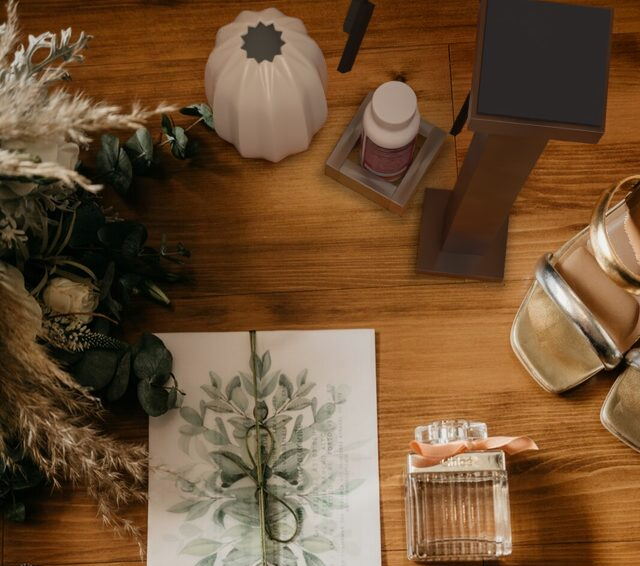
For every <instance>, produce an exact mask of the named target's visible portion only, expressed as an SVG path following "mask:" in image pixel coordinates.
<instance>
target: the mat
mask: <svg viewBox="0 0 640 566" xmlns="http://www.w3.org/2000/svg"><path fill="white" fill-rule="evenodd" d="M610 12H611V9H603V8H594V7H584V6H575V5H565V4H556V3H546V2H537V1H527V0H488V1H487V12H486V22H485V33H484V43H483V53H482V64H481V74H480V84H479V95H478V105H477V114H480V115H489V116H499V117H508V118H517V119H527V120H536V121H546V122H555V123H564V124H574V125H583V126H593V127H600V126H601V124H602V112H603V99H604V87H605V74H606V62H607V49H608V37H609V24H610Z"/></svg>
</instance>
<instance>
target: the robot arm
mask: <svg viewBox="0 0 640 566" xmlns="http://www.w3.org/2000/svg"><path fill="white" fill-rule="evenodd" d="M478 2H479V4H480V2H481V0H478ZM375 8H376V4H375V3H373V2H371V1H369V0H351V1H350V4H349V7H348V9H347V13H346V16H345V19H344V21H343V24H342V32H343V33H346V34H347V35H348V38H347V39H346V42H345V46H344V49H343V52H342V54H341V57H340V60H339V63H338V65H337V67H336V71H337V72H338V73H340V74H347V73H349V72H351V71H352V69H353V67H354V64H355V62H356V59H357V57H358V53H359V51H360V48H361V46H362V44H363V41H364V37H365V35H366V32H367V29H368V27H369V25H370V21H371V19H372V17H373V14H374V10H375ZM470 90H471V88H470V89H469V90H468V93H467V95H466V98H465V100H464V102H463V104H462V106H461V107H460V109H459V112H458V114H457V116H456V117H455V119H454V122H453V124H452V126H451V129H450V130H449V132H448V135H451V136H452V137H455V138H456V137H457V136H458V135H459V134H461V132H462V130H463V128H464V126H465V125H466V124H467V120H468V110H469V100H470Z"/></svg>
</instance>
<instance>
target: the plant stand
mask: <svg viewBox="0 0 640 566" xmlns="http://www.w3.org/2000/svg"><path fill="white" fill-rule="evenodd" d="M487 1H488V0H481V2H480V3H479V6H478V9H477V20H476V29H475V39H474V40H475V41H474V48H473V49H474V50H473V59H472V60H473V61H472V70H471V79H470V89H471V90H470V89H469V91H470V100H469V110H468V119H467V121H466V131H467V132H473V134H472V137H471V140H470V143H469V144H468V148H467V150H466V153H465V155H464V158H463V161H462V163H461V167H460V169H459V172H458V175H457V177H456V179H455V182H454V185H453V187H452V189H444V188H436V187H435V188H434V187H425V188H424V191H423V200H422V209H421V217H420V227H419V239H418V248H417V257H416V267H415V268H416V269H415V274H416V275H423V276H425V275H426V276H434V277H444V278H451V279H452V278H453V279H461V280H471V281H478V282H479V281H480V282H490V283H497V284H499V283H500V284H502V282H503V281H504V278H505V268H506V267H505V266H506V256H507V245H508V236H509V235H508V234H509V224H510V223H509V222H510V213H511V212H510V211H511V209H512V207H513V205H514V203H516V200H517V198H518V197H519V195H520V193H521V191H522V189H523V188H524V186H525V184H526V183H527V181H528V179H529V177H530V175H531V174H532V172H533V170H534V168H535V166H536V165H537V164H538V162H539V160H540V158H541V156H542V154H543V152H544V151H545V149H546V147H547V145H548V143H549V142H550V141H558V142H559V141H560V142H567V143H578V144H587V145H598V143H599V142H600V140H601V139H602V138H603V136H604V135H605V133H606V120H607V109H608V108H607V107H608V95H609V83H610V72H611V71H610V70H611V59H612V58H611V57H612V45H613V44H612V43H613V33H614V20H615V7H608V6H598V5H589V4H588V5H587V4H579V3H571V2H560V1H553V0H551V1H550V0H527V1H537V2H546V3H556V4H565V5H575V6H584V7H594V8H603V9H611V12H610V24H609V37H608V49H607V62H606V74H605V87H604V99H603V112H602V124H601V126H600V127H593V126H583V125H574V124H564V123H555V122H546V121H536V120H527V119H517V118H508V117H499V116H489V115H480V114H477V105H478V95H479V84H480V74H481V64H482V53H483V43H484V33H485V22H486V12H487Z"/></svg>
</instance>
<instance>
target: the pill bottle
mask: <svg viewBox="0 0 640 566" xmlns="http://www.w3.org/2000/svg"><path fill="white" fill-rule="evenodd" d="M374 92H375V93H374V95H373V98H372V100H371V101H370V102H369V104H368V105H367V107H366V109H365V112H364V116H363V124H362V134H361V144H360V146H359V155H358V156H359V163H360V164H359V165H360V166H361V167H363V168H365V169H366V170H368V171H370V172H372V173H374V174H375V175H377V176H379V177H381V178H383V179H384V180H386V181H388V182H390V183H392V182H396V181H398V180H400V179H401V178H403V177H404V176H405V174H406V173H407V171H408V169H409V168H410V166H411V164H412V162H413V156H414V155H413V154H414V153H415V152H414V151H415V147H416V145H415V143H416V139H417V135H418V130H419V126H420V117H421V114H420V110H419V108H418V99H417V96H416V93H415V91H414V90H413V89H412V88H411V86H410V85H408V84H406V83H405V82H402V81H398V80H391V81H386V82H384V83H382V84H381V85H379V86H378V87H377V88H376V89H375V90H374Z"/></svg>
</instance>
